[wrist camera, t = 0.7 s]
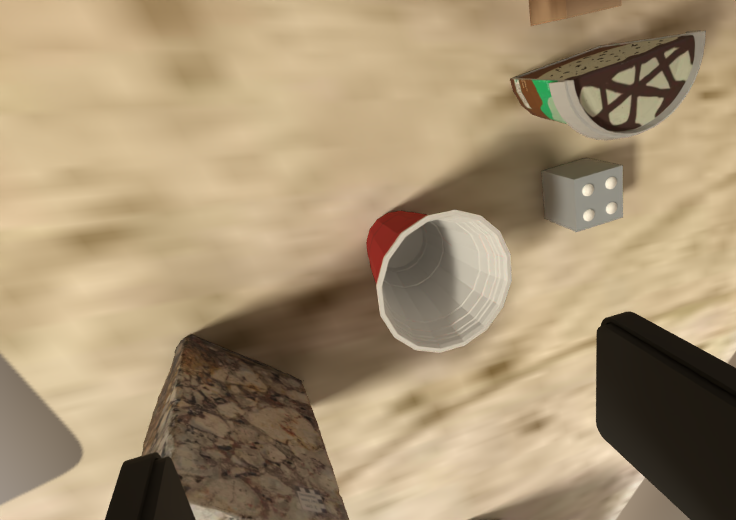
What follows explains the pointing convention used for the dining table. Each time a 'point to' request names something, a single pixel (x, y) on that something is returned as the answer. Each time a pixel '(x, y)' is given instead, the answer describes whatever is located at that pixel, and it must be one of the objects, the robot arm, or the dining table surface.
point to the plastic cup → (438, 276)
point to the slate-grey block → (583, 193)
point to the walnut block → (565, 9)
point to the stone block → (242, 439)
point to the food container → (615, 85)
